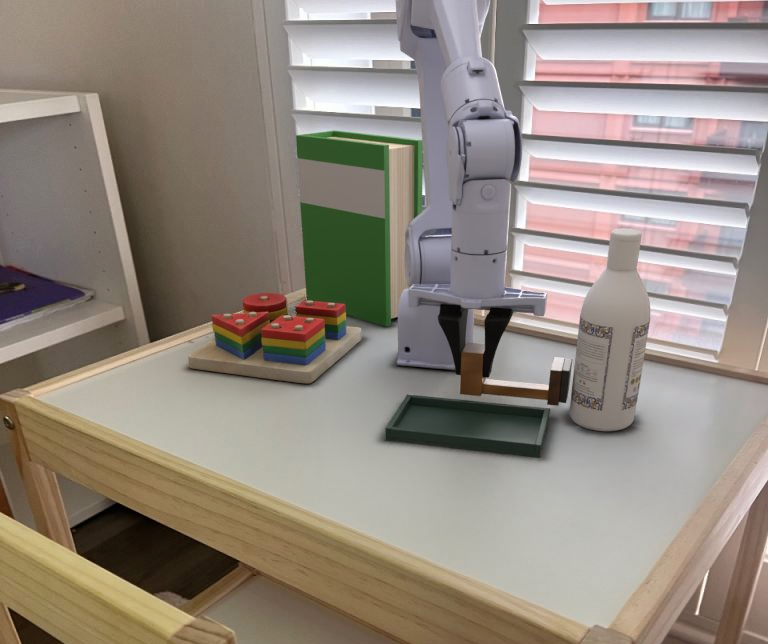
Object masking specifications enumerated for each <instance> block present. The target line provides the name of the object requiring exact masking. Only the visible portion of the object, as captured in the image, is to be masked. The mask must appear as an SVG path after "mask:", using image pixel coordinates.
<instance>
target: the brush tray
mask: <svg viewBox="0 0 768 644" xmlns="http://www.w3.org/2000/svg"><path fill="white" fill-rule="evenodd" d="M550 416H551V408H550V407H540V406H531V405H521V404H520V405H519V404H510V403H509V404H508V403H498V402H489V401H479V400H478V401H477V400H469V399H457V398H448V397H437V396H427V395H415V394H406V395H405V397H404V398H403V400H402V401H401V403H400V404H399V406H398V408H397V410H396V411H395V412H394V414H393V416H392V417H391V419H390V420H389V421H388V423H387V425H386V427H385V429H384V431H385V433H384V435H385V441H391V442H401V443H409V444H418V445H426V446H437V447H444V448H453V449H463V450H470V451H478V452H489V453H498V454H506V455H514V456H523V457H533V458H541V456H542V455H541V454H542V450H543V448H544V447H543V446H544V442H545V439H546V434H547V431H548V427H549V423H550V419H551V418H550Z"/></svg>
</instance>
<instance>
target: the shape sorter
mask: <svg viewBox="0 0 768 644" xmlns="http://www.w3.org/2000/svg"><path fill="white" fill-rule="evenodd" d="M241 303H242V311H243V313H224V314H211V322H212V323H211V328H212V331H213V334H214V339H212V340H210V341H209V342H207V343H206V344H204V345H202V346H201V347H199V348H197V349H196V350H194V351H193V352H191V353H190V354H188V356H187V359H188V368H189V369H194V370H201V371H207V372H216V373H223V374H229V375H230V374H232V375H238V376H245V377H252V378H259V379H260V378H261V379H267V380H275V381H276V380H277V381H282V382H283V381H284V382H290V383H298V384H312V383H313V382H314V381H316V380H317V379H318V378H320V376H322V375H323V374H324V373H325V372H326V371H327V370H328V369H330V368H331V367H332V366H333V365H334V364H335V363H336V362H338V361H339V360H340V359H341V358H342V357H343V356H345V355H346V354H347V353H348V352H350V351H351V349H353V348H354V347H356V345H357V344H358V343H359V342H361V341H362V328H361V327H357V326H349V325H348V326H347V315H346V312H345V311H346V306H345V304H340V303H329V302H318V301H308V300H307V299H306V300H305V299H304V300H303V301H301V302H299V303H298V304H296V305H295V310H294V311H295V313H296V314H295V315H289V312H288V299H287V296H286V295H284V294H281V293H277V292H259V293H253V294H249V295H247V296H245V297H243V299H242V302H241Z"/></svg>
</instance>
